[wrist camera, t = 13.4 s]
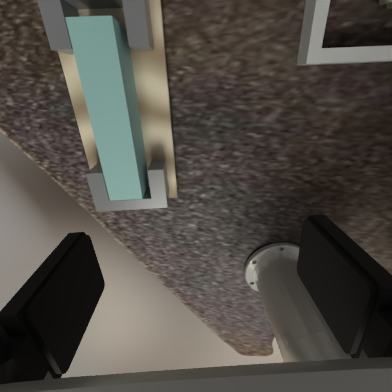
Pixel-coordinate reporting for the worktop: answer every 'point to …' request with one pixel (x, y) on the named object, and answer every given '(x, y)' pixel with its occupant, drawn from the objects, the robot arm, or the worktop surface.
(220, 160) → the worktop surface
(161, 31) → the base board
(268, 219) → the worktop surface
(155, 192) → the grey slat holder
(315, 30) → the parts tray
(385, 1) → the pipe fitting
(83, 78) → the slat
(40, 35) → the worktop surface
